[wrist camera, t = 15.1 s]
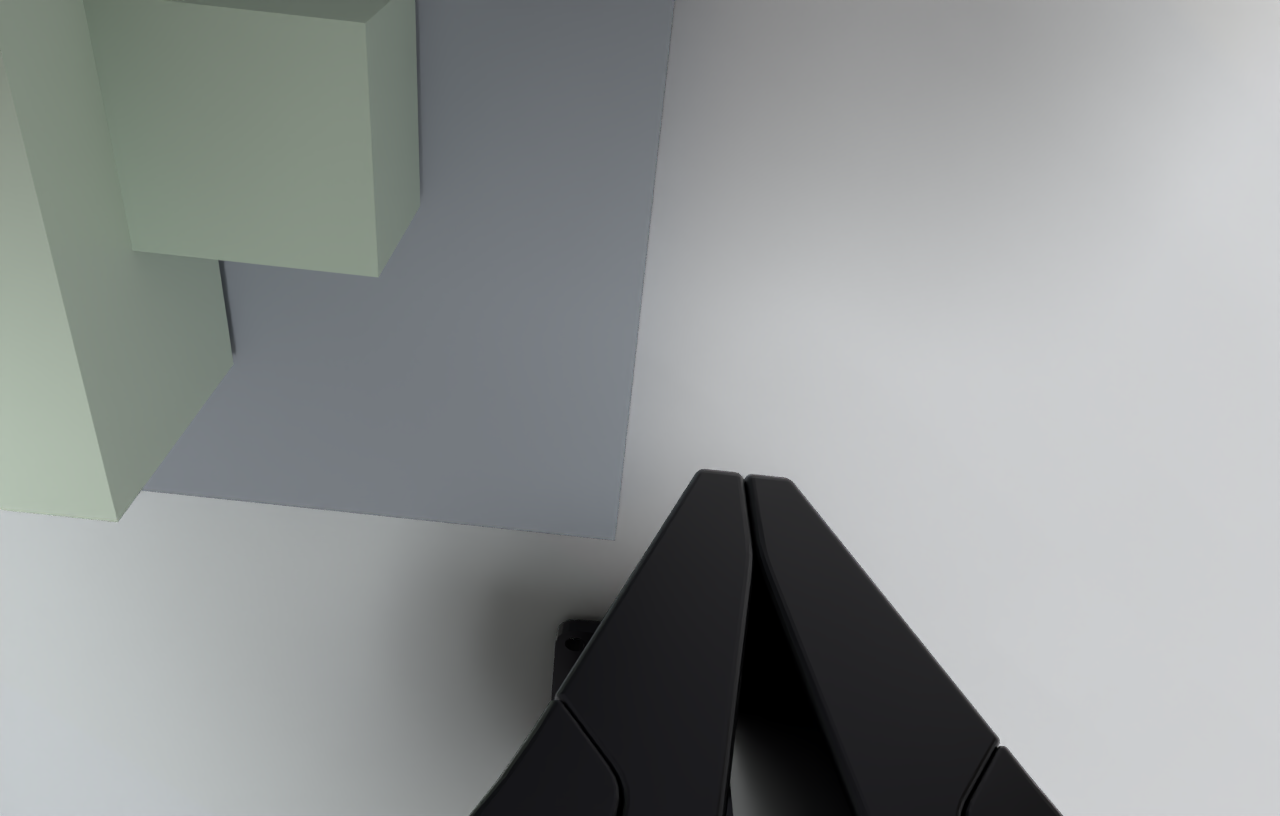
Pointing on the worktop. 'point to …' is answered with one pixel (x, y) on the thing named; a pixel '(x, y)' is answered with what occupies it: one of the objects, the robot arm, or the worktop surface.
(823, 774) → the robot arm
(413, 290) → the board
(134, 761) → the worktop surface
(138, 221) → the housing
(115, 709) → the worktop surface
